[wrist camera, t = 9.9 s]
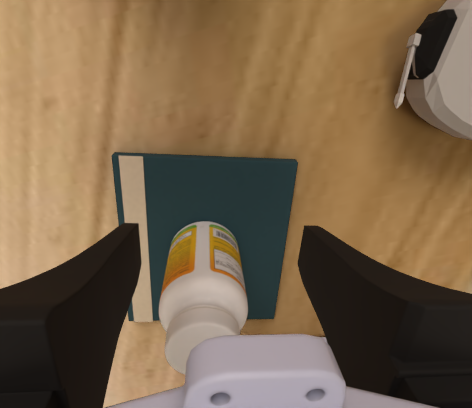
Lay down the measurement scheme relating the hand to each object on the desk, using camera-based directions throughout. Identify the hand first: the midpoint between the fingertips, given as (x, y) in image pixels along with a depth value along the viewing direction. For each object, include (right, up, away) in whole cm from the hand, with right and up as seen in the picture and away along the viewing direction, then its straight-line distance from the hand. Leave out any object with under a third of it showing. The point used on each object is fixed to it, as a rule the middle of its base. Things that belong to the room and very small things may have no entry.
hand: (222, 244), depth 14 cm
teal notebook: (-2, -2, +12) cm, 12 cm away
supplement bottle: (-2, -2, +12) cm, 12 cm away
